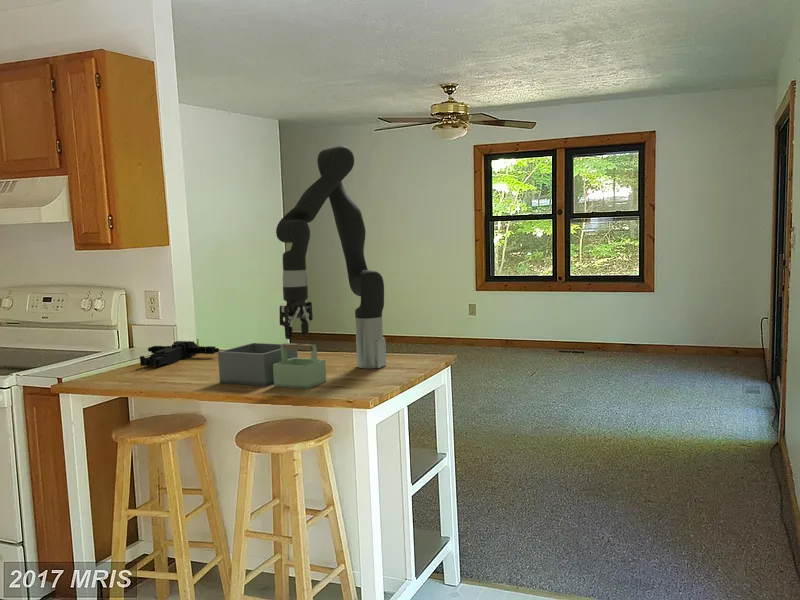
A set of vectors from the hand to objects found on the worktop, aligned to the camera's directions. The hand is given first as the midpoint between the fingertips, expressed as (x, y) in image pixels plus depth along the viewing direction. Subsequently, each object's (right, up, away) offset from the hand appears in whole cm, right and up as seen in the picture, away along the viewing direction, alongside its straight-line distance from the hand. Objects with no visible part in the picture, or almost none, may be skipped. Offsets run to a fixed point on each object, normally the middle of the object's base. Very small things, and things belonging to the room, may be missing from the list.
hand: (297, 337), depth 222 cm
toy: (-55, -12, +51) cm, 76 cm away
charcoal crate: (-14, -14, +12) cm, 23 cm away
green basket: (+1, -15, +1) cm, 15 cm away
